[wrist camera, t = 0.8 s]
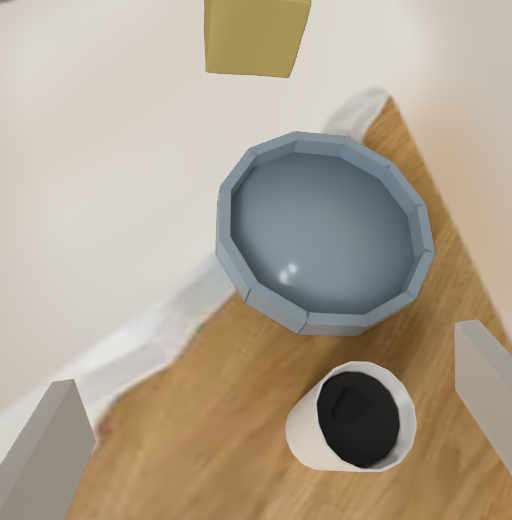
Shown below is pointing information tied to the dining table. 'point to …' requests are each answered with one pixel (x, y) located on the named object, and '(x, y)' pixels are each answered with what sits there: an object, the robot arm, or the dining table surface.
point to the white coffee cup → (353, 421)
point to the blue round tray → (322, 234)
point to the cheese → (253, 36)
